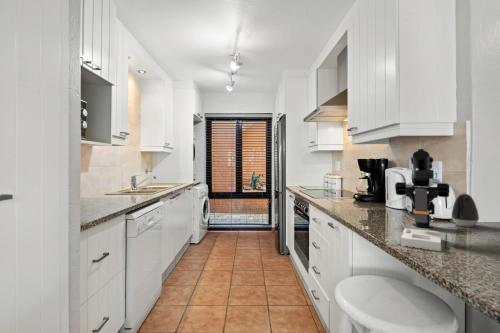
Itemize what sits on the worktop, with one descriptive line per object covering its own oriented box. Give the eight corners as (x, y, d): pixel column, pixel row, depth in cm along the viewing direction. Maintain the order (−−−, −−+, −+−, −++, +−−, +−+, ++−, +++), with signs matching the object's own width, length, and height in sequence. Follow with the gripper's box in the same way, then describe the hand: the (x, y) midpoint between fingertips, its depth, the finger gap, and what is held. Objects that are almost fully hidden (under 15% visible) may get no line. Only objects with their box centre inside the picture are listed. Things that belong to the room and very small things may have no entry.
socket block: (404, 235, 114) (404, 226, 114) (439, 239, 107) (439, 230, 107) (401, 245, 100) (401, 236, 100) (441, 251, 93) (440, 240, 93)
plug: (413, 219, 112) (413, 188, 112) (428, 220, 109) (428, 188, 109) (413, 222, 108) (413, 189, 108) (428, 223, 105) (428, 190, 105)
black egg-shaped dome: (455, 227, 126) (455, 194, 126) (448, 222, 135) (448, 192, 135) (483, 228, 122) (482, 195, 122) (473, 223, 132) (473, 192, 132)
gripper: (395, 163, 117) (392, 191, 108) (448, 163, 106) (451, 194, 97) (397, 180, 123) (395, 208, 114) (447, 181, 113) (449, 212, 104)
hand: (420, 205), depth 107 cm, fingers closed on plug, 4 cm apart
